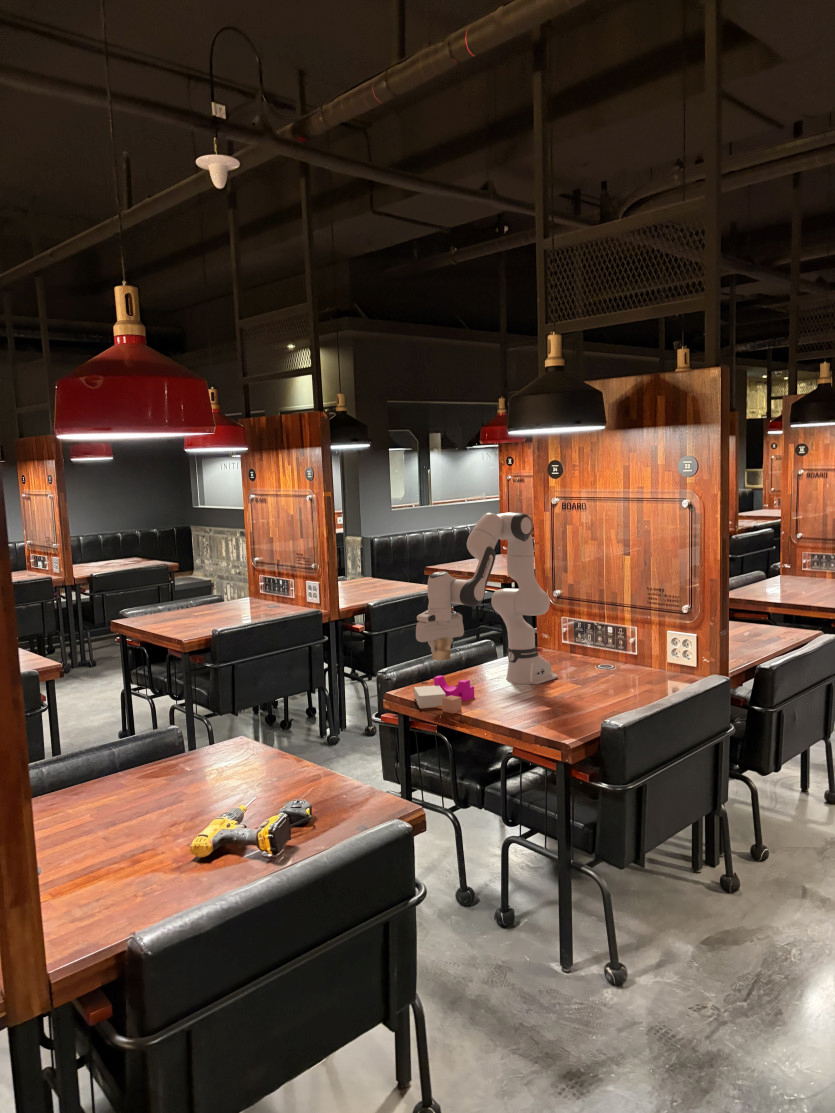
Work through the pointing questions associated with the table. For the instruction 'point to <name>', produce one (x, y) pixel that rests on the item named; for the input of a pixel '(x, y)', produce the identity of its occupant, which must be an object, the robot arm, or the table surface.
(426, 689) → the base block
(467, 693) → the toy block
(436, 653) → the maple block
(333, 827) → the table surface
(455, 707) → the terracotta cube
